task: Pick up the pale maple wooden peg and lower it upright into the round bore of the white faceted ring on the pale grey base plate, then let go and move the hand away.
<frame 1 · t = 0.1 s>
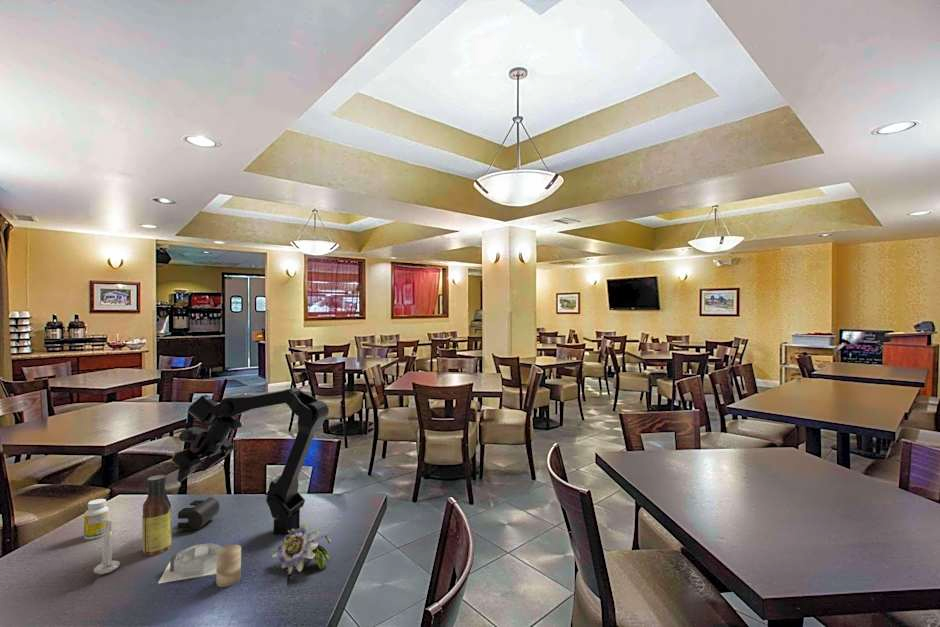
hand: (191, 475, 132), 15 cm above the table, tool tilted 35°, fingers open, 9 cm apart
base plate: (198, 569, 109), on the table
supplement bottle: (96, 536, 126), on the table
sauce bottle: (156, 553, 117), on the table
graduated cylinder: (106, 576, 106), on the table
passion flower: (302, 566, 111), on the table
white faceted ring: (198, 565, 109), resting on base plate
maple peg: (228, 584, 103), on the table
end cap: (199, 527, 132), on the table
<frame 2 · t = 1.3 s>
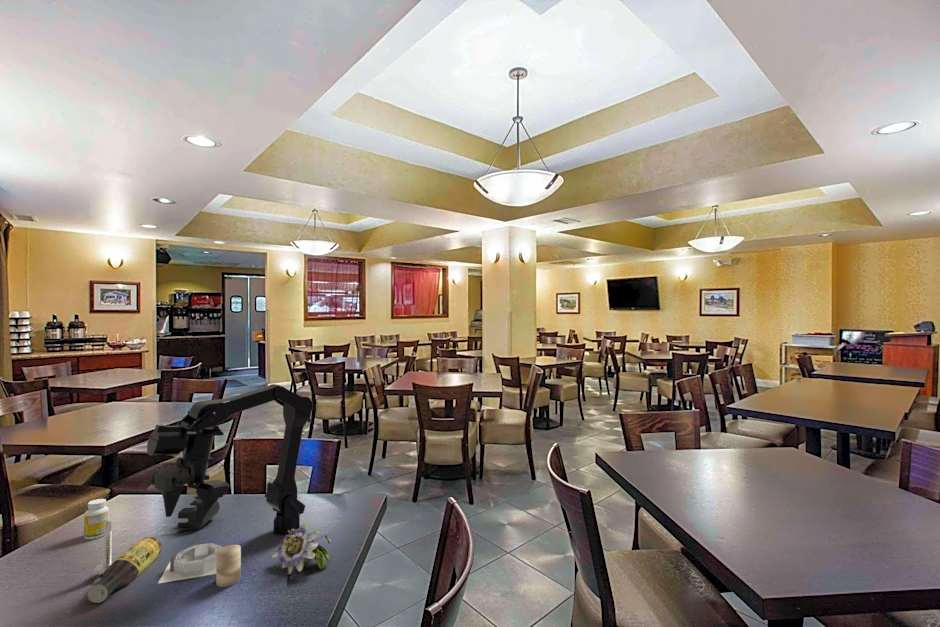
hand: (182, 520, 106), 13 cm above the table, tool pointing down, fingers open, 9 cm apart
sauce bottle: (149, 546, 114), point 3 cm above the table
everything else where it was.
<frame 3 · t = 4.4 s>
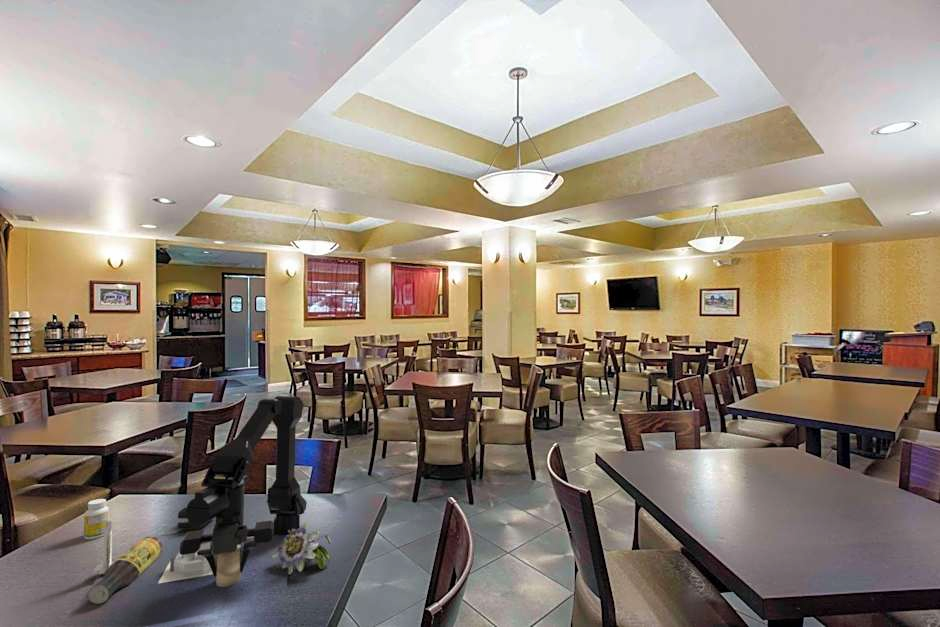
hand: (228, 573, 103), 3 cm above the table, tool pointing down, fingers closed on maple peg, 5 cm apart
maple peg: (228, 584, 103), on the table, touching gripper
everything else where it was.
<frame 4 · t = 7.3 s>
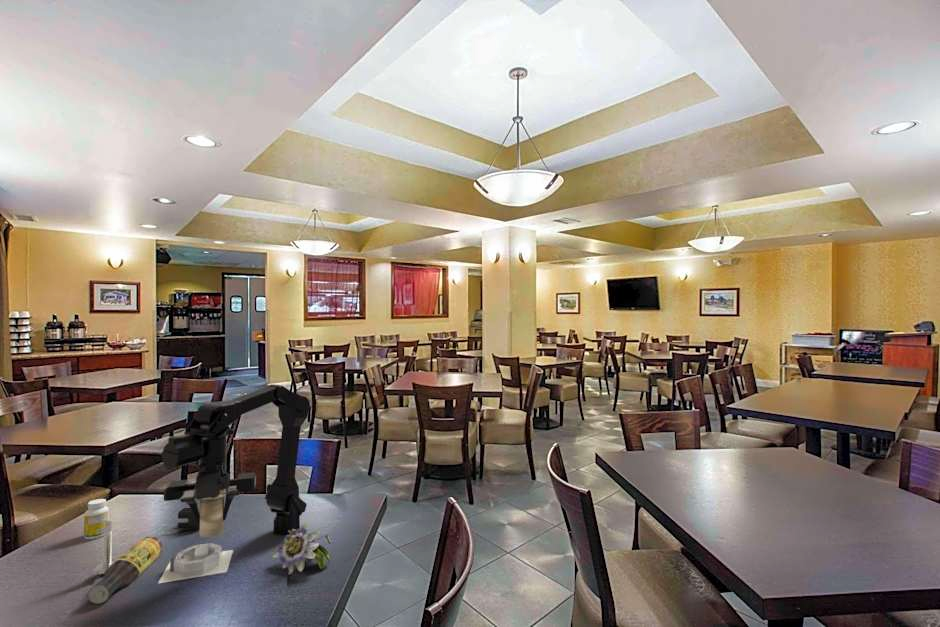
hand: (211, 521, 107), 13 cm above the table, tool pointing down, fingers closed on maple peg, 5 cm apart
maple peg: (211, 532, 107), point 10 cm above the table, touching gripper
everything else where it was.
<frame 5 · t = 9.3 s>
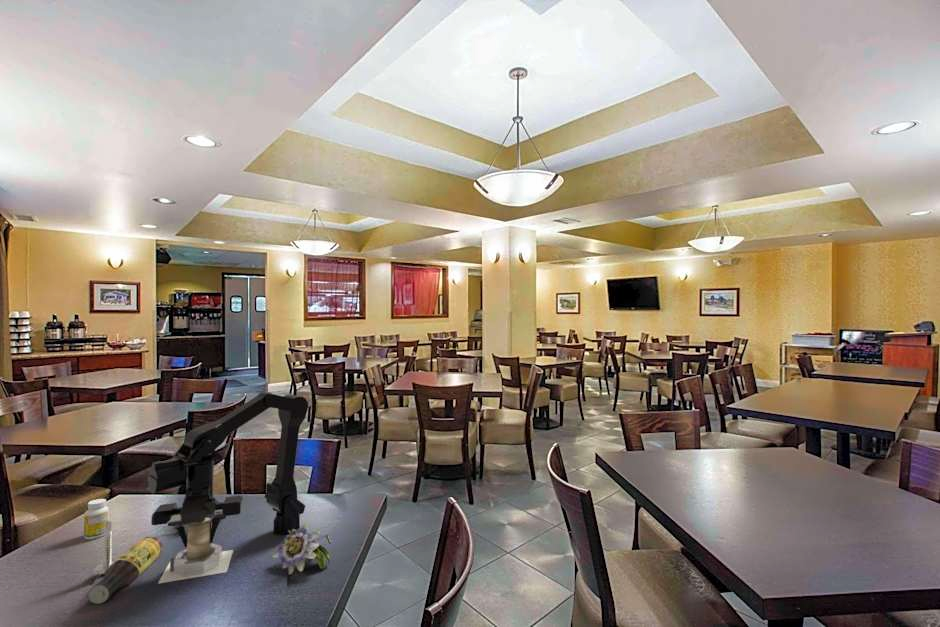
hand: (199, 544, 109), 6 cm above the table, tool pointing down, fingers closed on maple peg, 5 cm apart
maple peg: (198, 554, 109), point 4 cm above the table, touching gripper
everything else where it was.
when the fingers open (5 cm above the table, at t = 10.6 s): maple peg drops 2 cm, resting on base plate.
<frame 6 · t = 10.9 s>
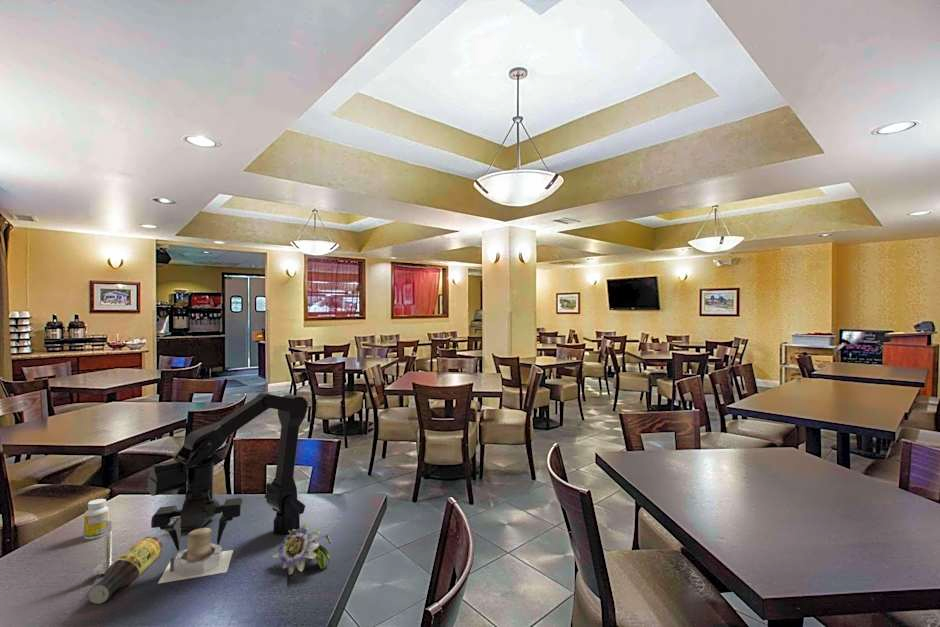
hand: (198, 546, 109), 5 cm above the table, tool pointing down, fingers open, 8 cm apart
maple peg: (198, 565, 109), point 1 cm above the table, touching base plate
everything else where it was.
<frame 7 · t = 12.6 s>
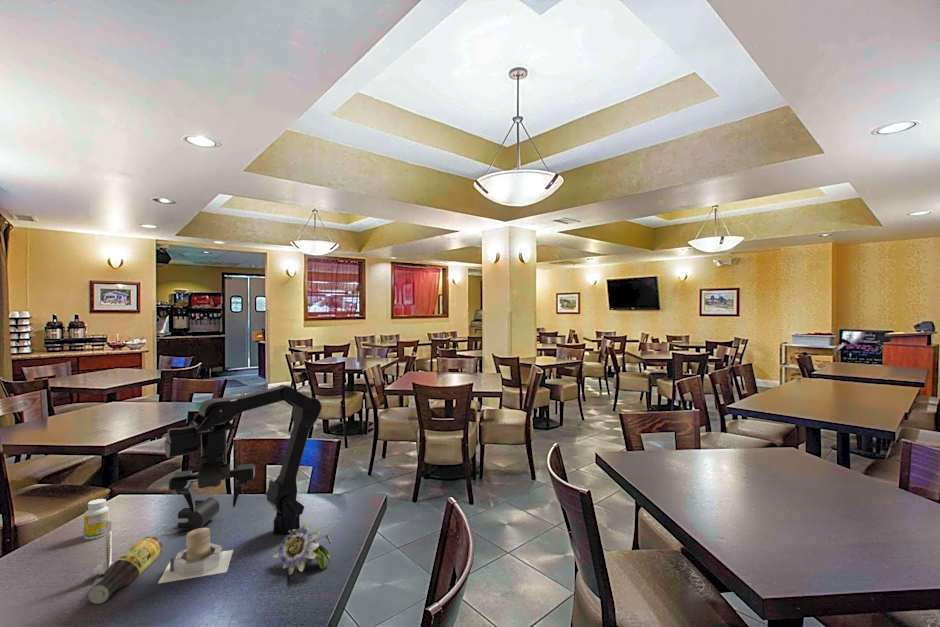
hand: (214, 509, 114), 13 cm above the table, tool pointing down, fingers open, 9 cm apart
nothing on the table moved.
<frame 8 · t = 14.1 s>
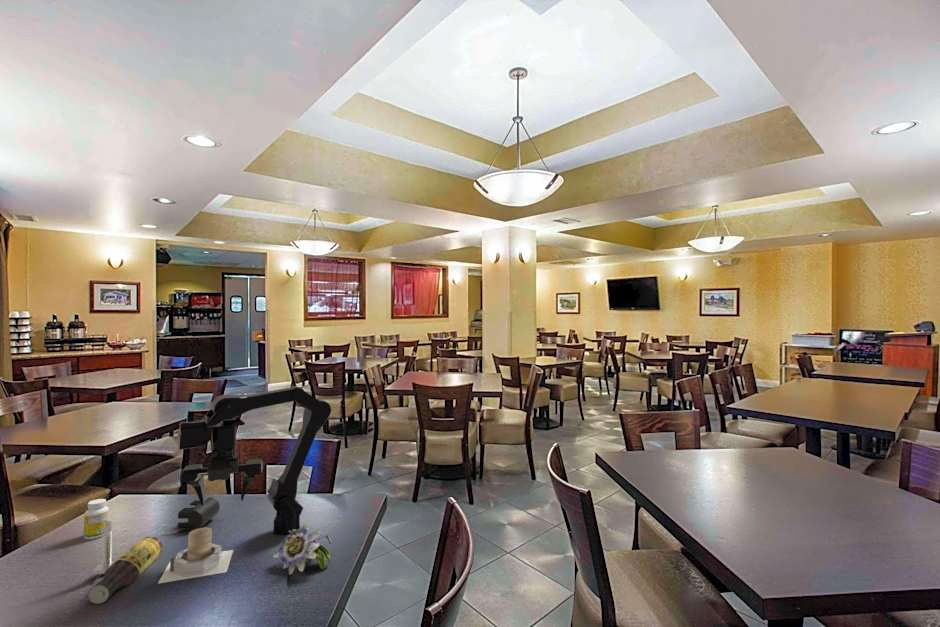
hand: (222, 502, 118), 13 cm above the table, tool pointing down, fingers open, 9 cm apart
nothing on the table moved.
at the end: maple peg 0.1 cm off-centre on the white faceted ring, point 0.1 cm above the white faceted ring's base; maple peg tilted 2°; the gripper is holding nothing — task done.
